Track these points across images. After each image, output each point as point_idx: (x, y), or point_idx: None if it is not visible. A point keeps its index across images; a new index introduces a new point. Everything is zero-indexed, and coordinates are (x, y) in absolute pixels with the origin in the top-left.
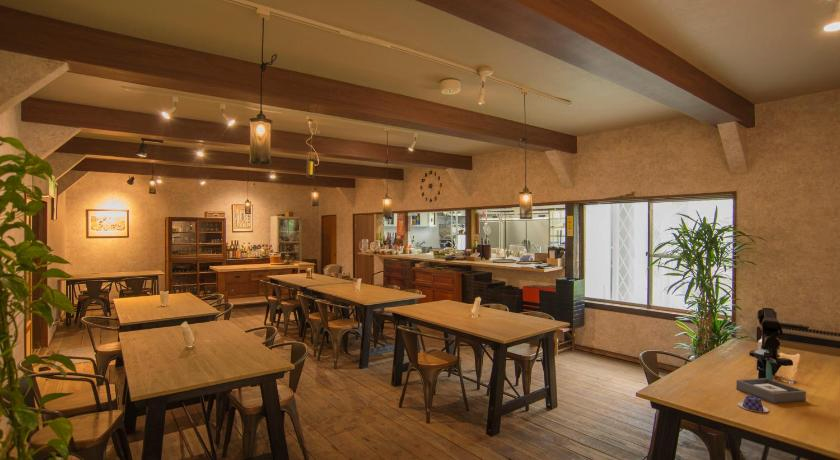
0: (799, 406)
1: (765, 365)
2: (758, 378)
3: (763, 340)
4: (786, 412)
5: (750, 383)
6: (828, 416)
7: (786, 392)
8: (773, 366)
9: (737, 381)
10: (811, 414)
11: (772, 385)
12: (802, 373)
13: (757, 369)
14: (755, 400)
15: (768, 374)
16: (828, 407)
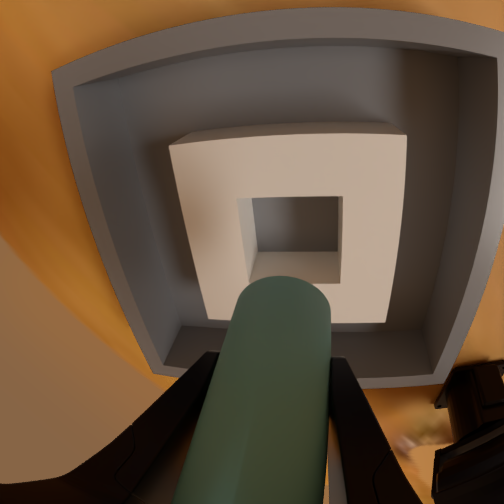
0: None
1: (341, 488)
2: (498, 372)
3: None
4: (9, 55)
5: (469, 194)
6: (9, 235)
7: (98, 229)
8: (100, 480)
9: (500, 33)
10: (6, 176)
11: (336, 315)
12: (427, 487)
13: None
14: None
15: (251, 326)
16: (112, 340)
